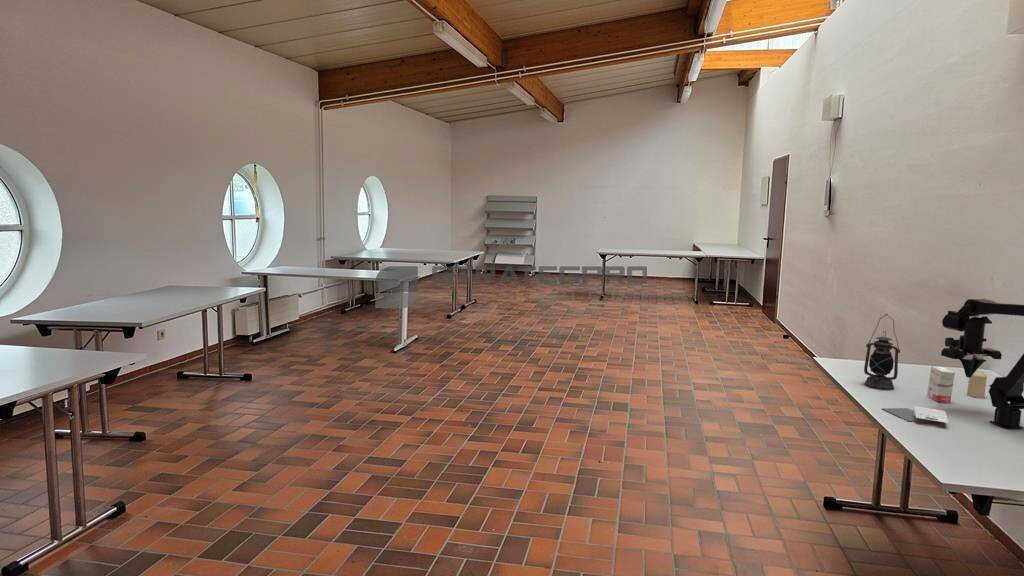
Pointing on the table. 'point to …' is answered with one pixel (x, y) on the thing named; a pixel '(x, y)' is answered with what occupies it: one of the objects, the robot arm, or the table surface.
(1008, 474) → the table surface
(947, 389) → the ink box
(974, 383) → the candle
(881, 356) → the lantern
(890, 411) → the slate mat
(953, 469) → the table surface
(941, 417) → the ink box
